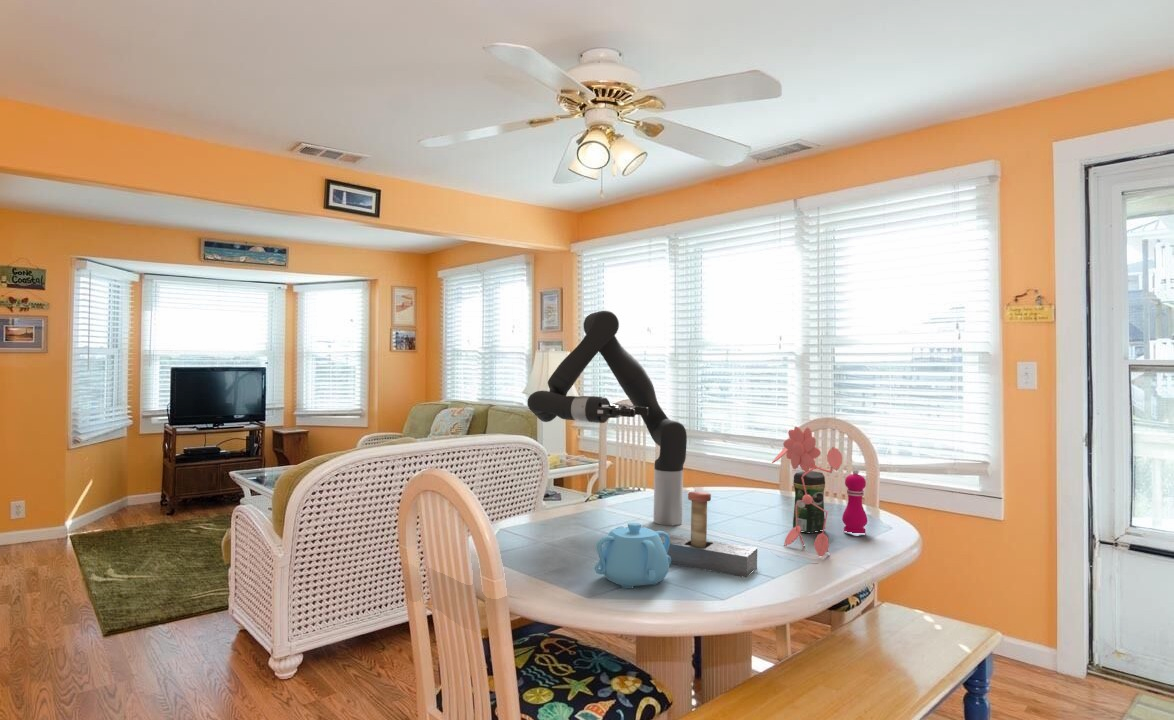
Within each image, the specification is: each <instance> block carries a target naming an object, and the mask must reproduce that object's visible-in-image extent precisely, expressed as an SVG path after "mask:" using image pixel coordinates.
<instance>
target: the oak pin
mask: <svg viewBox="0 0 1174 720" xmlns="http://www.w3.org/2000/svg"><path fill="white" fill-rule="evenodd" d="M711 498H712V494H711V493H710V492H707V491H701V490H700V491H696V490H695V491H688V493H687V499H688V501H691V502H690V503H691V508H690V509H691V510H690V511H691V515H690V516H691V517H690V538H691V546H696V547H702V548H706V540H707V529H708V528H707V527H708V526H707V525H708V524H707V523H708V519H707V518H708V502H711V500H712V499H711Z"/></svg>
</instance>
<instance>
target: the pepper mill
mask: <svg viewBox="0 0 1174 720" xmlns="http://www.w3.org/2000/svg"><path fill="white" fill-rule="evenodd" d="M844 480H845V481H844V485H845V486H846V488H847V489H846V495H847V498H848V499H847V505H846V507H845V509H844V511H843V513H842V519H841V520H842V522H843V523H842V524H844V527H843V532H844V531H847V532H852V533H865V534H866V528H865V527H866V525H867V524H868V515H867V514H866V511H865V509H864V507H863V506H864V505H863V496H864V495H865V494H864V493H865V491H864V489H865V488H866V486H867V484H866V483H867V482H866V479H865V478H864V476H863V475H861V474H860V473H859V469H855V468H854V469H853V470H852V474H849V475H847V476H846V478H845V479H844Z"/></svg>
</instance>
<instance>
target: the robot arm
mask: <svg viewBox="0 0 1174 720" xmlns="http://www.w3.org/2000/svg"><path fill="white" fill-rule="evenodd" d="M619 322H620V321H619V319H618V317H617V315H616V314H615V313H614V312H612V311H609V310H600V311H599V310H598V311H596V312H592V313H589V314H588V315H587V316H586V317H584V321H583V331H584V333H585V335H584V337H583V339H582V340H581V341H580V342H579V343H578V345H577V346H576V347H575V348H574V349H573V350H572V351H571V352H570V353H569V354H568V355H567V356H566V357H565V358H564V359H563V360H562V361H561V362H560V364H559V365H558V366H557V367H556V369H555V370H554V372H553V373H552V374H551V375H550V376H549V379H548V381H547V386H548V388H549V390H537V391H535V392H532V393H531V394H530V395H529V396H528V398H527V407H528V409H529V410H530V412H532V413H533V414H534V416H535V417H536V418H537V419H539V421H541V422H543V423H549V422H552V421H553V420H555V419H556V418H557V417H558V418H559V419H561V420H565V421H566V420H567V421H577V422H583V423H594V424H597V423H598V424H605V423H607V421H608V420H609V419H618V418H621V417H625V418H634V417H635V416H636V415H637V416H640V417H641V418H642V420H643V423H644V424H645V427H646V428H647V430H648V433H649V435H650V437H651V439H652V440H653V441H654V443H655V444H656V445H657V446H659V447H660V448H659V456H658V458H657V459H655V460H654V471H653V472H654V474H653V477H654V478H653V479H654V480H653V482H654V483H653V486H654V487H653V523H655V524H657V525H661V526H678V525H681V524H683V493H684V492H683V491H684V490H683V489H684V488H683V487H684V482H683V481H684V464H685V462H686V459H687V457H686V456H687V443H688V435H687V430H686V427H685V425H684V424H683V423H681V422H679V421H677V420H673V419H670V418H669V417H668V416H667V414H666V413H665V412H664V411H663V409H662V407H661V406H660V404H659V402H658V400H657V396H656V391H655V387H654V384H653V381H652V380H651V378H650V377H649V374H648V373H647V371H646V370H645V368H644V367H643V365H642V364H641V363H640V362H639V361H638V360H637V359H636V358H635V357H634V356H633V355H632V354H631V353H629V352H628V351H627V350H626V349H625V348H624V346H622V344H621V343H620V341H619V340H618V338H617V337H616V335H617V334H618V331H619V329H620V323H619ZM598 353H599V354H600V355H601V356H602V358H603V360H604V361H605V362H606V364H607V366H608V367H609V370H610V371H611V372H612V374H613V376H614V377H615V379H616V380H617V382H618V384H619V386H620V387H621V389H622V390H623V392H624V394H625V395H626V396H627V398H628V399H629V401H630V402H631V403H632V405H631V404H630V405H629V404H626V403H625V404H623V403H621V404H619V403H618V402H617V403H616V402H615V403H610V401H609V399H608V398H607V397H606V396H596V395H595V396H593V395H580V396H579V395H578V396H577V395H568V392H569V391H570V390H571V389H572V387H574V384H575V383H576V381H577V380H578V379H579V377H580V376H581V374H582V373H583V372H584V370H585V369H586V368H587V366H588V365H589V364H590V363H591V361H592V360H593V359H594V358H595V356H596V355H598Z"/></svg>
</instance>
